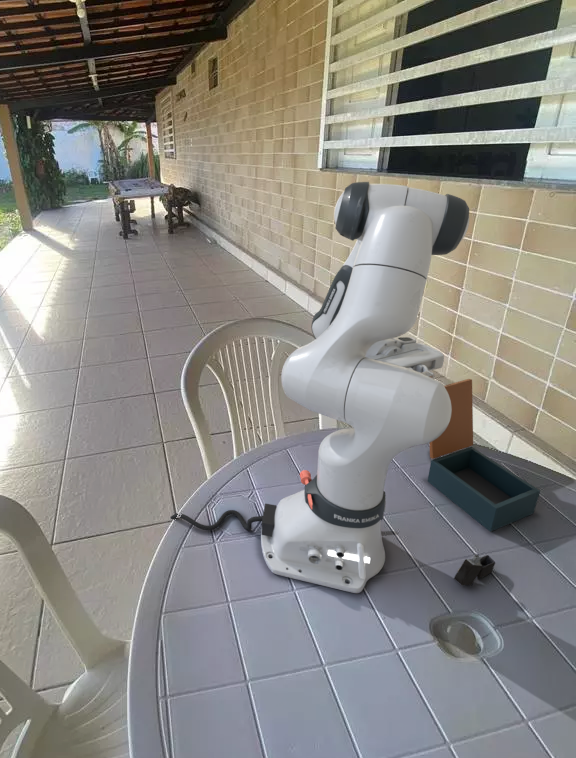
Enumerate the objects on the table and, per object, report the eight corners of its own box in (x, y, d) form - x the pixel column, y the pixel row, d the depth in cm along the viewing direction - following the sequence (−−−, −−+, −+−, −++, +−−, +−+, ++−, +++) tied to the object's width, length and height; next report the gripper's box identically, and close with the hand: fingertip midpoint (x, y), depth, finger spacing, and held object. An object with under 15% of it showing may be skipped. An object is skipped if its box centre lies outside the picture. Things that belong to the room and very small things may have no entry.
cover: (472, 379, 91) (468, 378, 92) (430, 391, 88) (427, 390, 89) (473, 445, 94) (470, 443, 95) (432, 459, 91) (429, 457, 91)
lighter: (471, 576, 75) (486, 552, 74) (483, 586, 73) (498, 561, 72) (449, 575, 71) (465, 549, 70) (461, 585, 69) (477, 558, 68)
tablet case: (533, 513, 84) (540, 490, 81) (490, 531, 80) (496, 508, 78) (466, 467, 97) (471, 446, 94) (427, 481, 93) (431, 460, 91)
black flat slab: (519, 506, 84) (520, 503, 84) (489, 519, 82) (490, 516, 82) (468, 471, 94) (469, 468, 94) (440, 481, 92) (440, 478, 92)
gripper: (351, 351, 103) (393, 376, 91) (417, 335, 109) (465, 357, 97) (349, 374, 105) (390, 401, 93) (413, 357, 111) (460, 381, 99)
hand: (429, 378), depth 95 cm, fingers closed
